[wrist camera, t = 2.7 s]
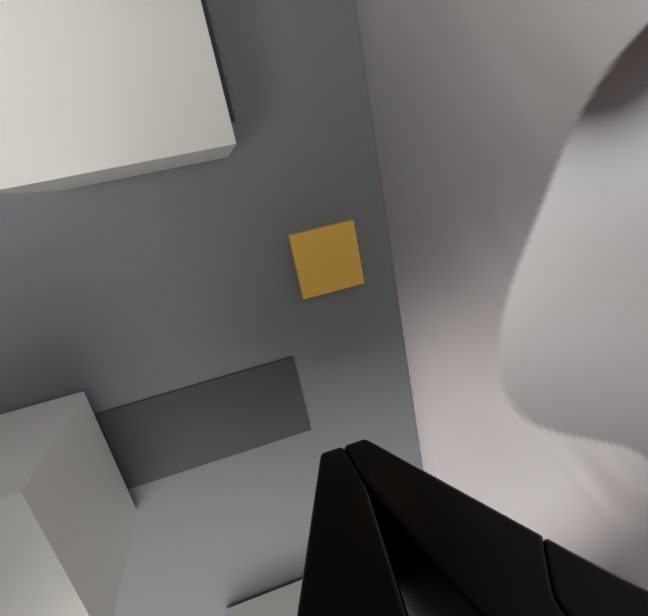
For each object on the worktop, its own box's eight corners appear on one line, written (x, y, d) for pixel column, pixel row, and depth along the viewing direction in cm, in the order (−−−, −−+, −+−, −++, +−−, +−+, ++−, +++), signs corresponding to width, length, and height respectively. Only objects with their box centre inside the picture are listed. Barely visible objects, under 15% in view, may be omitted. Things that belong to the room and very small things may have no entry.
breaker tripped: (137, 511, 10) (105, 646, 7) (-6, 558, 9) (-103, 726, 6) (83, 391, 9) (20, 492, 6) (-82, 437, 8) (-238, 573, 5)
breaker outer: (228, 156, 8) (235, 143, 5) (61, 190, 7) (-30, 195, 5) (176, -46, 7) (151, -199, 4) (-23, -23, 6) (-204, -179, 4)
